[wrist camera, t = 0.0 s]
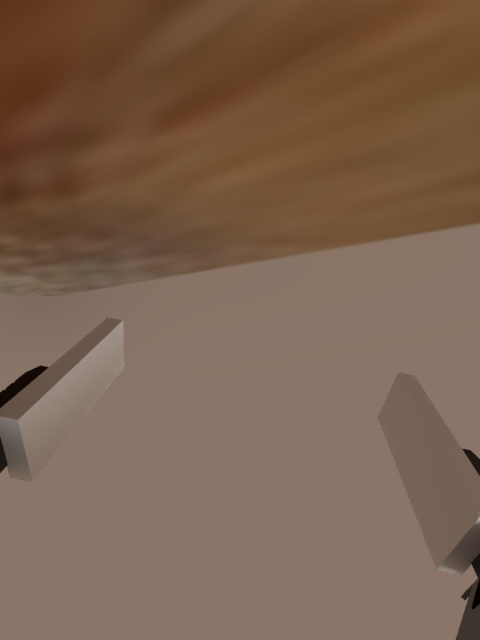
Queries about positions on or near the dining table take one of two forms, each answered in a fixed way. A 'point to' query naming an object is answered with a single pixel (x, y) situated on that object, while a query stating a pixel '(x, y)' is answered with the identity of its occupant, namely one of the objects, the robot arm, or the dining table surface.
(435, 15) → the dining table surface
